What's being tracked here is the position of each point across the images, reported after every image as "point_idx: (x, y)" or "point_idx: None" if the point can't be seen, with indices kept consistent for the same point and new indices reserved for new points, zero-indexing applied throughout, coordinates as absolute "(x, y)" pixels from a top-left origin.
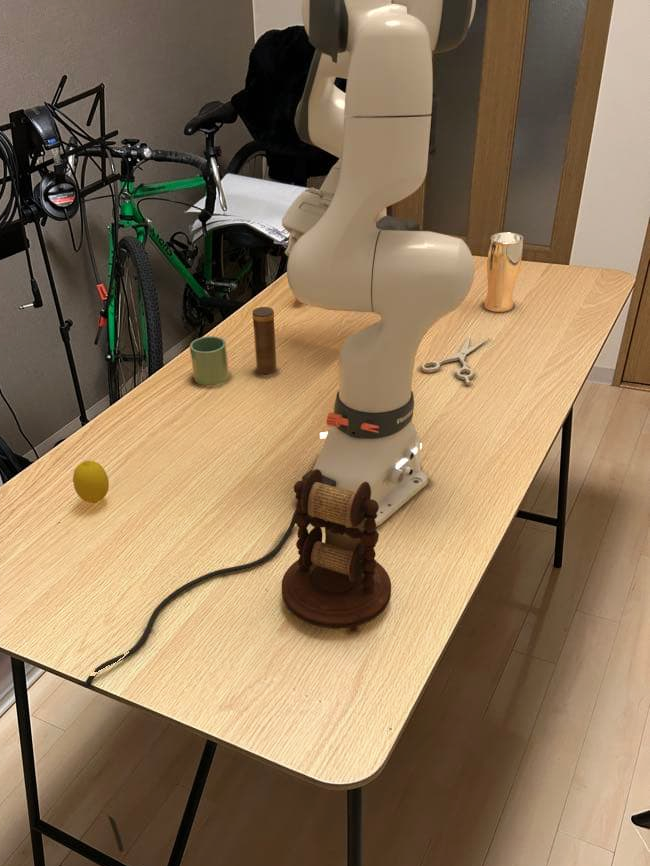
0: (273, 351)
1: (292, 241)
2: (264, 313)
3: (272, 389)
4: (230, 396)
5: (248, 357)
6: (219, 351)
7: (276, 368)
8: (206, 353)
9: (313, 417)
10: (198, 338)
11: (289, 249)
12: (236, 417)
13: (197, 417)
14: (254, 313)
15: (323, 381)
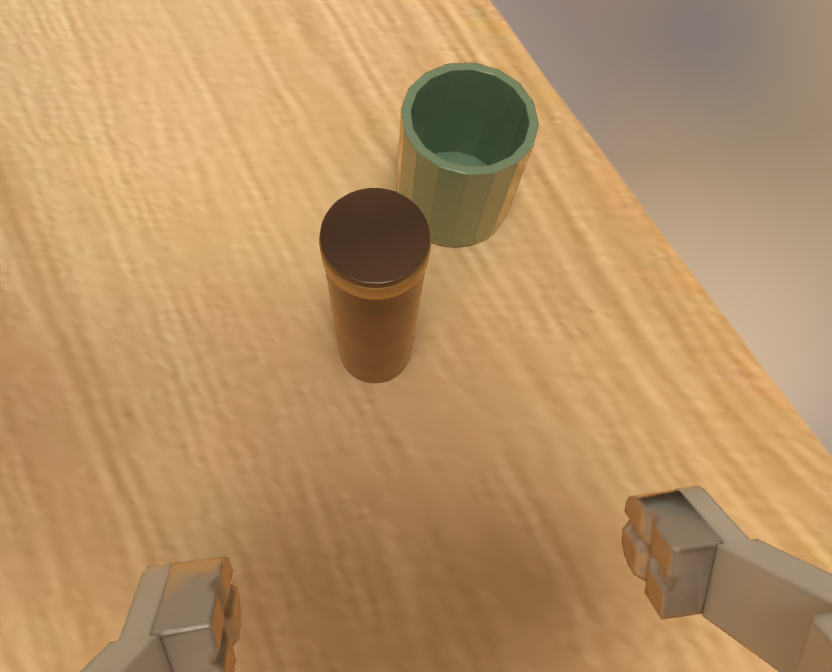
0: (336, 328)
1: (771, 590)
2: (346, 225)
3: (264, 303)
4: (318, 188)
5: (516, 359)
6: (402, 129)
7: (351, 369)
8: (412, 86)
9: (19, 306)
10: (536, 115)
11: (680, 514)
12: (201, 144)
13: (279, 74)
14: (379, 191)
15: (181, 472)
